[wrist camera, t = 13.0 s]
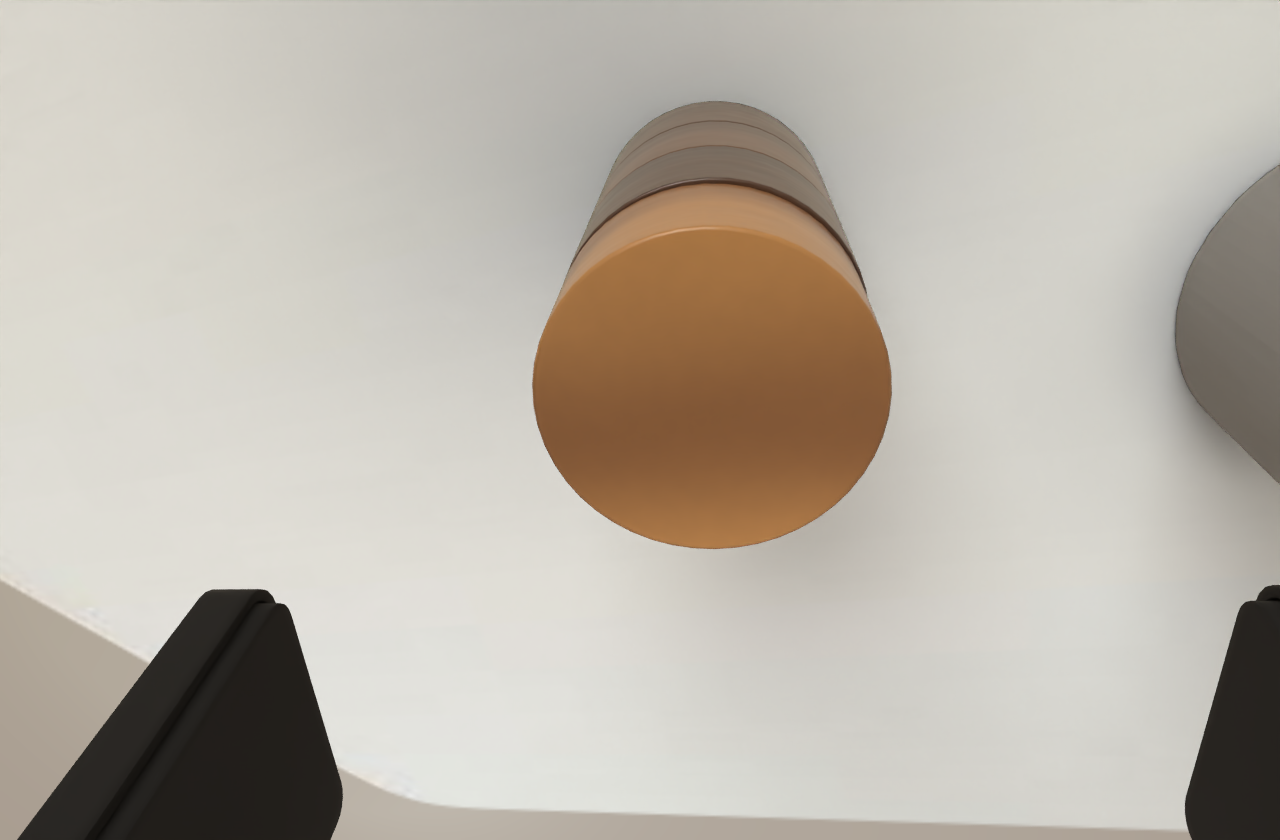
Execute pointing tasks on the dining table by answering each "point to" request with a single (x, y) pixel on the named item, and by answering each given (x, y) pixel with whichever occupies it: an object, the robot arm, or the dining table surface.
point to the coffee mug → (1238, 323)
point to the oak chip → (712, 369)
